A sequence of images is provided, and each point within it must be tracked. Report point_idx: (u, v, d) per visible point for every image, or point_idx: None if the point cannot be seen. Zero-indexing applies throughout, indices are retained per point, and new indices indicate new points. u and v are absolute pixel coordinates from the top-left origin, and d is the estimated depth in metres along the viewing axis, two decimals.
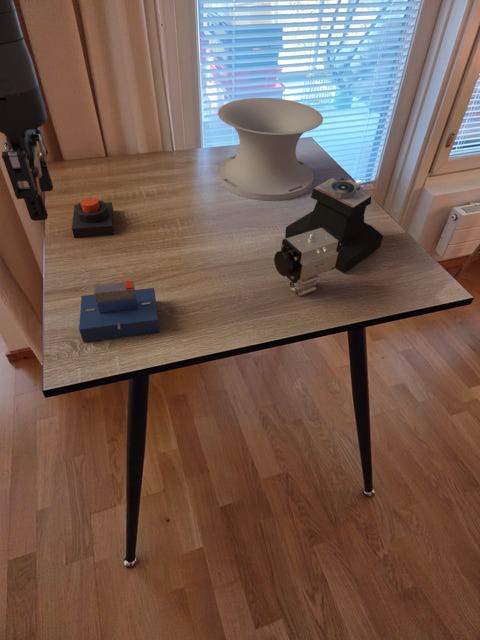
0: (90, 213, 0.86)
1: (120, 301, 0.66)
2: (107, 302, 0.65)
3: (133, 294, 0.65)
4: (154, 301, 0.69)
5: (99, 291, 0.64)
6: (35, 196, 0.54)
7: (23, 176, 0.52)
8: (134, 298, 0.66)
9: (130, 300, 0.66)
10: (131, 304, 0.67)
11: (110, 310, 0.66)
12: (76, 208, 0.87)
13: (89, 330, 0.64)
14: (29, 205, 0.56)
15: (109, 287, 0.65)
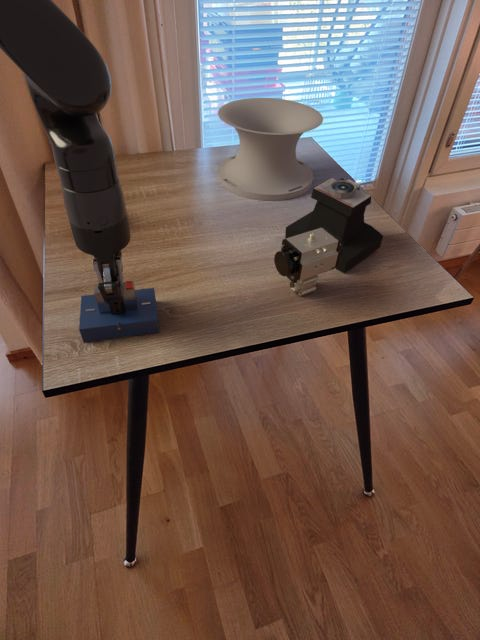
0: None
1: None
2: None
3: (133, 294, 0.65)
4: (154, 301, 0.69)
5: (99, 291, 0.64)
6: (121, 301, 0.62)
7: (114, 296, 0.59)
8: (134, 298, 0.66)
9: (130, 300, 0.66)
10: (131, 304, 0.67)
11: (110, 310, 0.66)
12: None
13: (89, 330, 0.64)
14: (112, 304, 0.64)
15: None
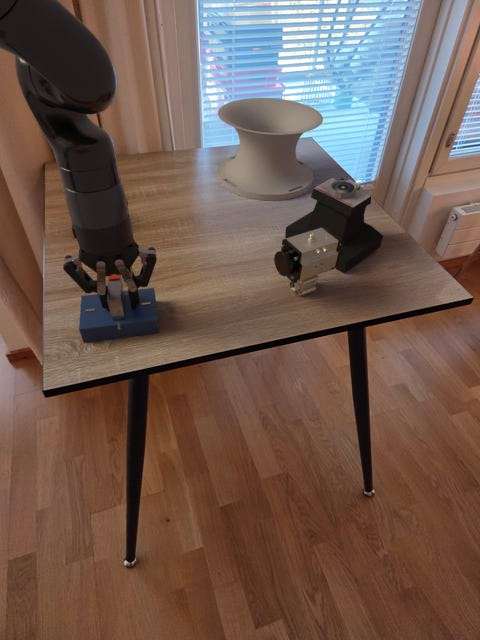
0: None
1: (123, 295, 0.67)
2: (123, 302, 0.65)
3: (121, 280, 0.68)
4: (154, 301, 0.69)
5: (118, 296, 0.63)
6: None
7: None
8: (122, 284, 0.68)
9: (122, 288, 0.68)
10: (123, 292, 0.69)
11: (124, 309, 0.67)
12: None
13: (89, 330, 0.64)
14: (138, 293, 0.66)
15: (113, 290, 0.64)
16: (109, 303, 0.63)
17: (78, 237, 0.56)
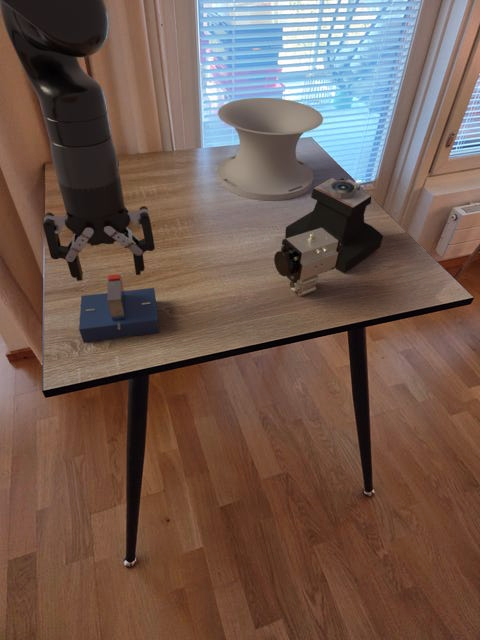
0: None
1: (123, 295, 0.67)
2: (123, 302, 0.65)
3: (121, 280, 0.68)
4: (154, 301, 0.69)
5: (118, 296, 0.63)
6: (152, 239, 0.62)
7: None
8: (122, 284, 0.68)
9: (122, 288, 0.68)
10: (123, 292, 0.69)
11: (124, 309, 0.67)
12: None
13: (89, 330, 0.64)
14: None
15: (113, 290, 0.64)
16: (109, 303, 0.63)
17: (65, 199, 0.52)
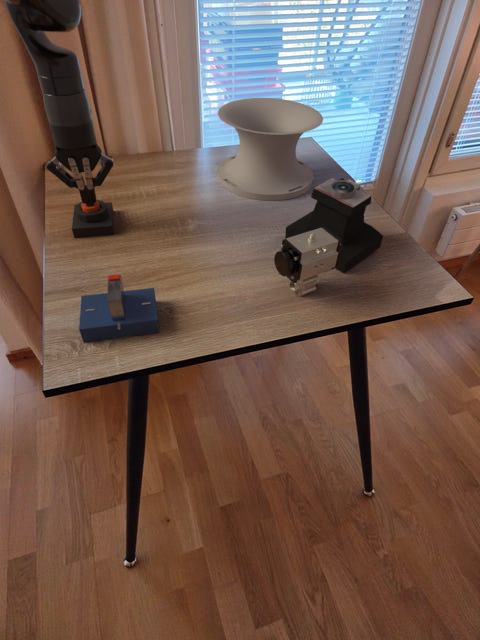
0: (90, 213, 0.86)
1: (123, 295, 0.67)
2: (123, 302, 0.65)
3: (121, 280, 0.68)
4: (154, 301, 0.69)
5: (118, 296, 0.63)
6: None
7: None
8: (122, 284, 0.68)
9: (122, 288, 0.68)
10: (123, 292, 0.69)
11: (124, 309, 0.67)
12: (76, 208, 0.87)
13: (89, 330, 0.64)
14: (94, 192, 0.85)
15: (113, 290, 0.64)
16: (109, 303, 0.63)
17: (54, 135, 0.75)
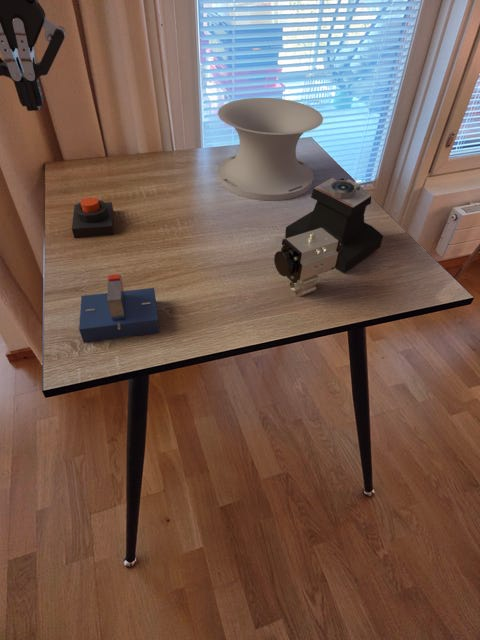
0: (90, 213, 0.86)
1: (123, 295, 0.67)
2: (123, 302, 0.65)
3: (121, 280, 0.68)
4: (154, 301, 0.69)
5: (118, 296, 0.63)
6: None
7: None
8: (122, 284, 0.68)
9: (122, 288, 0.68)
10: (123, 292, 0.69)
11: (124, 309, 0.67)
12: (76, 208, 0.87)
13: (89, 330, 0.64)
14: (38, 88, 0.56)
15: (113, 290, 0.64)
16: (109, 303, 0.63)
17: None
